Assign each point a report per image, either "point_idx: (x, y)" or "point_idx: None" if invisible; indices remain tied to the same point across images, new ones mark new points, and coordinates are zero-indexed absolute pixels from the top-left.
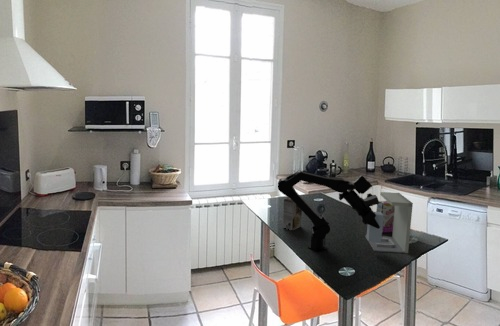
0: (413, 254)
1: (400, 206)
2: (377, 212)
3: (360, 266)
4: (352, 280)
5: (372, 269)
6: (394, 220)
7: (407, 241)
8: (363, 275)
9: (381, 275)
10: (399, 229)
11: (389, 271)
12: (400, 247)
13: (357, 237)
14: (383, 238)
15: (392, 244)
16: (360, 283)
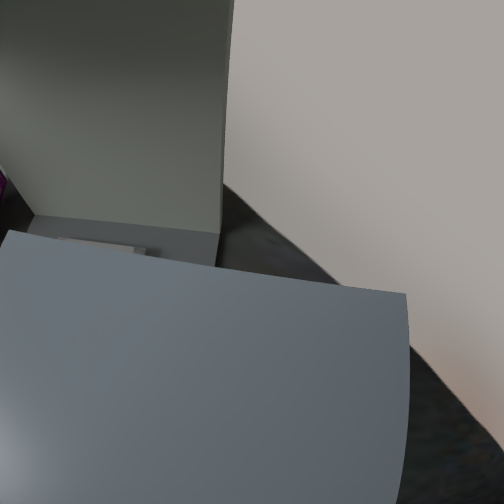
0: (235, 205)
1: (24, 34)
2: (9, 385)
3: (405, 498)
4: (486, 499)
5: (430, 451)
6: (3, 153)
7: (221, 185)
8: (467, 477)
9: (467, 417)
10: (85, 164)
11: (440, 383)
12: (156, 228)
13: None
14: None
15: None
16: (499, 475)
